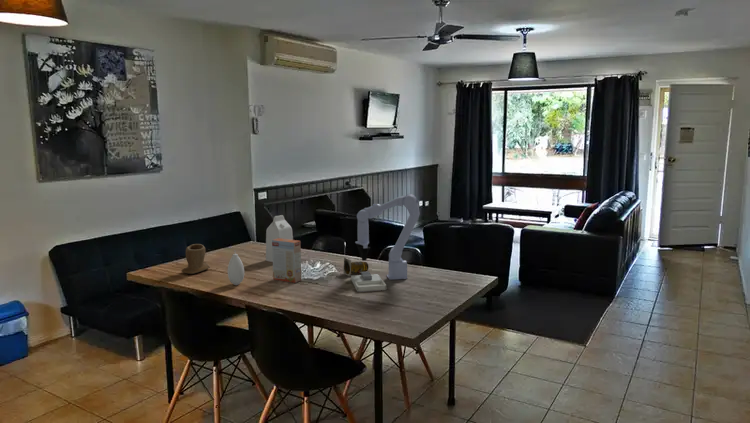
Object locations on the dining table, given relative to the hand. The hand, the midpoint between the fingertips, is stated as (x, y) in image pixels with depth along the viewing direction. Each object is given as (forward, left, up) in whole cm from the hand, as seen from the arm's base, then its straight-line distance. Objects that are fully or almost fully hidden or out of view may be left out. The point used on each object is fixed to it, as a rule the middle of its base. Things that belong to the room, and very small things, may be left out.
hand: (363, 258), depth 279 cm
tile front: (0, +12, -7) cm, 14 cm away
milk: (+42, -43, -10) cm, 61 cm away
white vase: (+64, +2, -10) cm, 65 cm away
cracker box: (+39, -1, -10) cm, 40 cm away
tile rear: (0, +7, -7) cm, 10 cm away
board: (0, +10, -9) cm, 13 cm away
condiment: (+8, -5, -5) cm, 11 cm away
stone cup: (+86, -26, -10) cm, 90 cm away
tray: (0, +20, -9) cm, 22 cm away
